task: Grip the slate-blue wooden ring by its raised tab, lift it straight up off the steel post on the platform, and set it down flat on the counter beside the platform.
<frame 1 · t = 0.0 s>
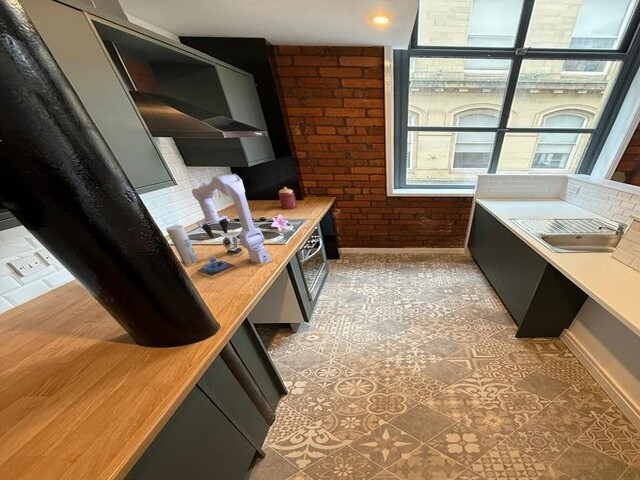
hand: (219, 235, 138), 10 cm above the countertop, tool pointing down, fingers open, 7 cm apart
ring: (216, 267, 123), point 1 cm above the countertop, touching platform
watch: (236, 254, 140), on the countertop
spray can: (192, 263, 130), on the countertop
platform: (217, 270, 124), on the countertop
kitchen canister: (289, 207, 223), on the countertop
lily: (281, 229, 175), on the countertop
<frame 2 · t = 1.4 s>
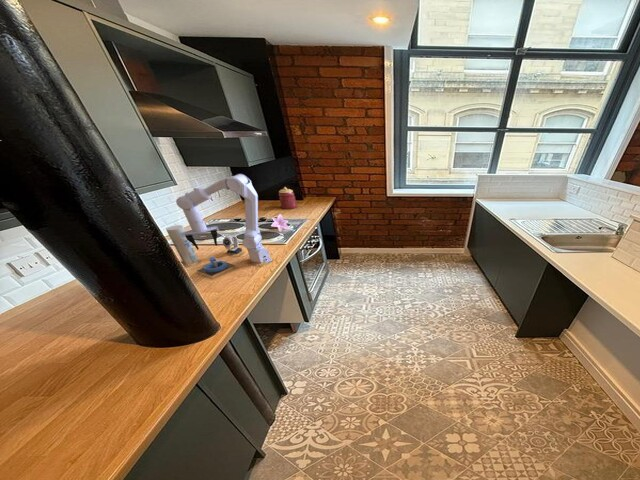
hand: (207, 246, 125), 10 cm above the countertop, tool pointing down, fingers open, 7 cm apart
nothing on the countertop moved.
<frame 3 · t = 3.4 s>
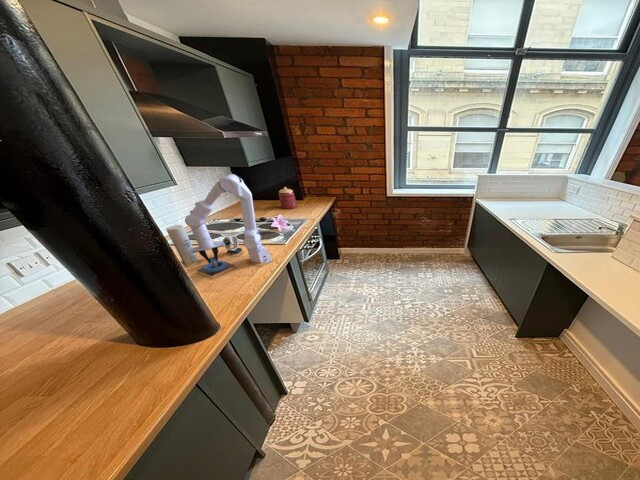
hand: (213, 262, 127), 2 cm above the countertop, tool pointing down, fingers closed on ring, 2 cm apart
ring: (216, 267, 123), point 2 cm above the countertop, touching gripper, platform
everything else where it was.
when the fingers open (1 cm above the countertop, at t = 8.9 s): ring stays where it is, on the countertop.
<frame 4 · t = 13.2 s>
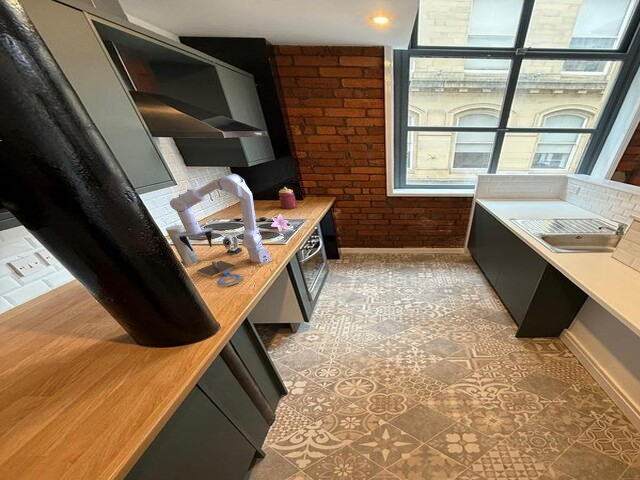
hand: (201, 248, 124), 9 cm above the countertop, tool pointing down, fingers open, 7 cm apart
ring: (230, 281, 116), on the countertop
everything else where it was.
at the end: ring inside the target area (0.1 cm from its centre), on the countertop; ring tilted 0°; ring touching countertop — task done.
